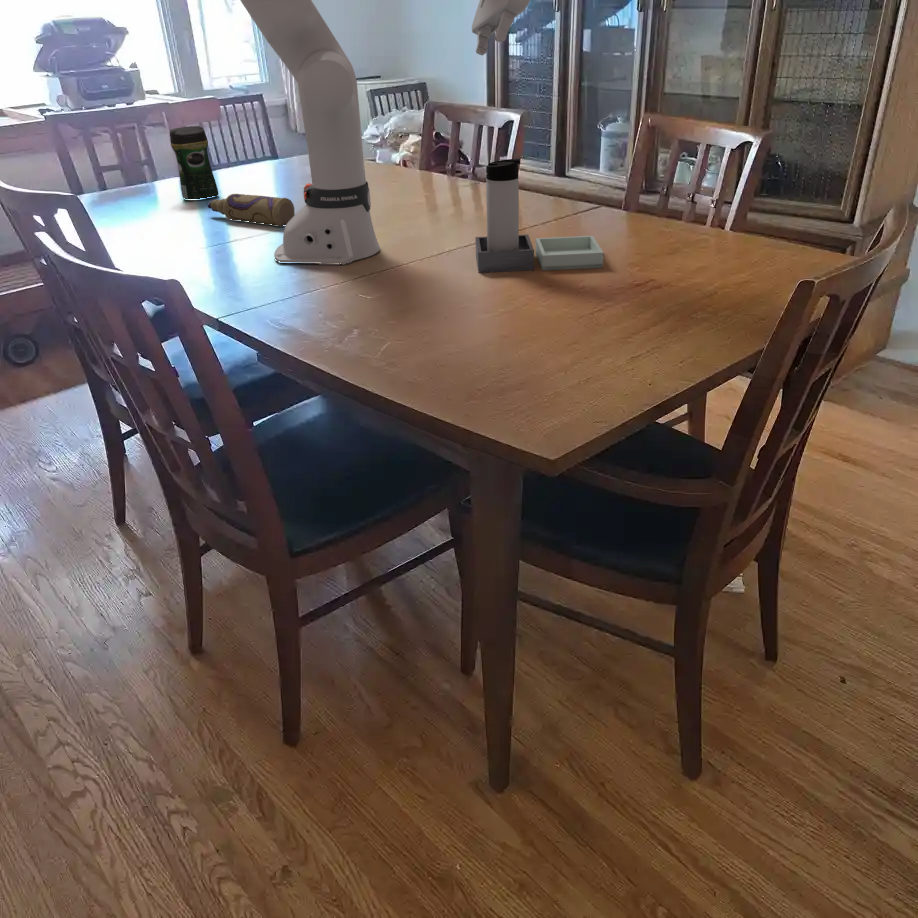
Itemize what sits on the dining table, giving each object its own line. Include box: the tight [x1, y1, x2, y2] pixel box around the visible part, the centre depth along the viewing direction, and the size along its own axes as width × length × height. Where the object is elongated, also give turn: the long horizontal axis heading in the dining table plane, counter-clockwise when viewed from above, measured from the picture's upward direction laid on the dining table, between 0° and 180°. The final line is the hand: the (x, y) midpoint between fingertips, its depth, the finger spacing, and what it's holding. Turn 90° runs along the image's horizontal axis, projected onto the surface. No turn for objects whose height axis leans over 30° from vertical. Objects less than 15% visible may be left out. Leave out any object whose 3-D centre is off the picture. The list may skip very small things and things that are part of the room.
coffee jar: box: [169, 125, 220, 200], centre depth 216 cm, size 10×8×19 cm
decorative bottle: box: [206, 193, 296, 227], centre depth 196 cm, size 26×8×7 cm, turn 59°
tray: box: [534, 235, 604, 272], centre depth 160 cm, size 12×12×3 cm
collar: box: [474, 234, 535, 274], centre depth 160 cm, size 11×11×4 cm
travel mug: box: [485, 158, 522, 251], centre depth 155 cm, size 6×7×20 cm
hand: (489, 47), depth 151 cm, fingers open, 8 cm apart
